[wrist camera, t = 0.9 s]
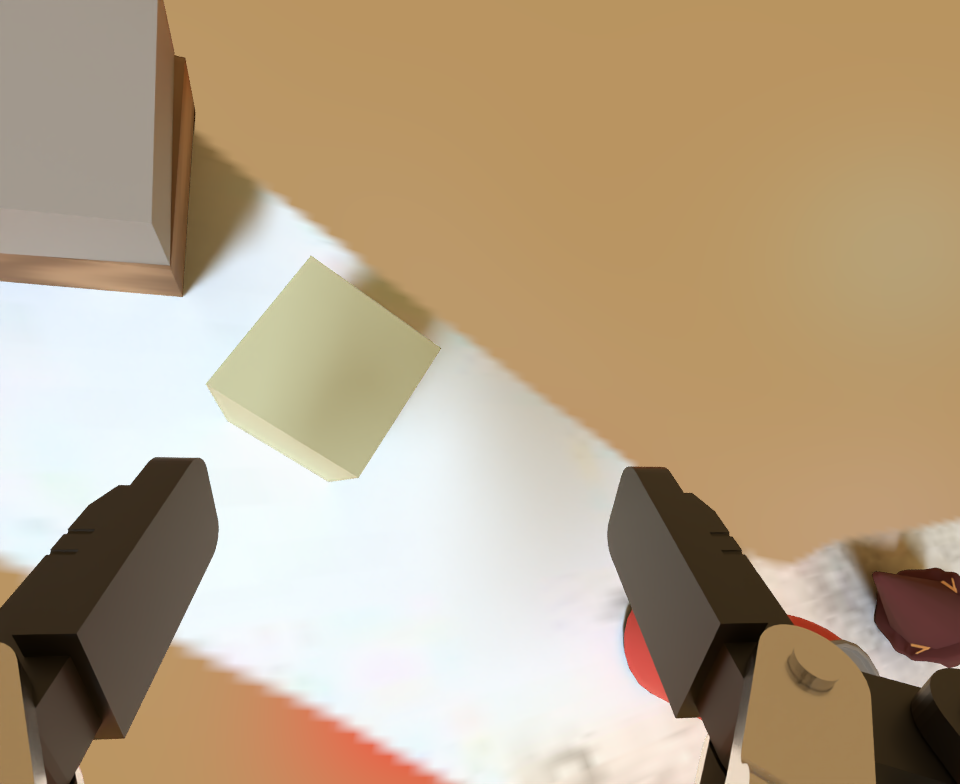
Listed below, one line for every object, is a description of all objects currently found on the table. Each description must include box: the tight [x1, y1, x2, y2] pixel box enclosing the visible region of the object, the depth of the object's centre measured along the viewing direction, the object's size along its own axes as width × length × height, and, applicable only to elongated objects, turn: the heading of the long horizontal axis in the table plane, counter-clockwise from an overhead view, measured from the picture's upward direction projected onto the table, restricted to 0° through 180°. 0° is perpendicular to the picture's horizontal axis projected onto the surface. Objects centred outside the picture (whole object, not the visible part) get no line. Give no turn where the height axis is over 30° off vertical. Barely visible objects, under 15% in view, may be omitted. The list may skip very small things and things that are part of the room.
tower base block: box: [0, 55, 195, 297], centre depth 24 cm, size 11×11×4 cm
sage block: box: [206, 256, 441, 482], centre depth 23 cm, size 6×6×10 cm
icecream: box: [872, 568, 960, 668], centre depth 39 cm, size 7×7×15 cm
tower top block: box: [0, 0, 174, 265], centre depth 20 cm, size 11×11×4 cm
